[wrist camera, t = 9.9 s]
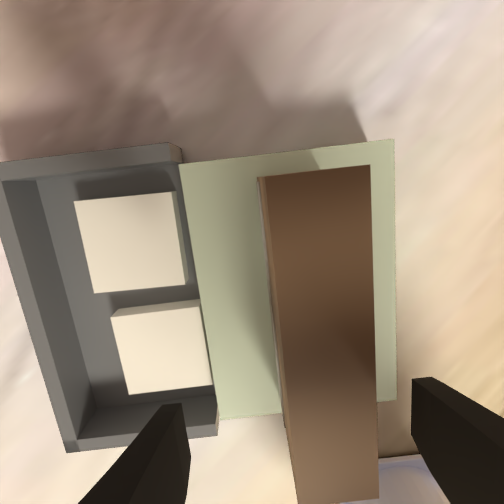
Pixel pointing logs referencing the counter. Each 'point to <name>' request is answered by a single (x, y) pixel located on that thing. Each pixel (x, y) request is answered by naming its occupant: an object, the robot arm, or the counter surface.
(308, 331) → the brown wooden block
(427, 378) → the robot arm
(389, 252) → the plate
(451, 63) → the counter surface
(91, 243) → the tile
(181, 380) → the tile
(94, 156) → the tray
